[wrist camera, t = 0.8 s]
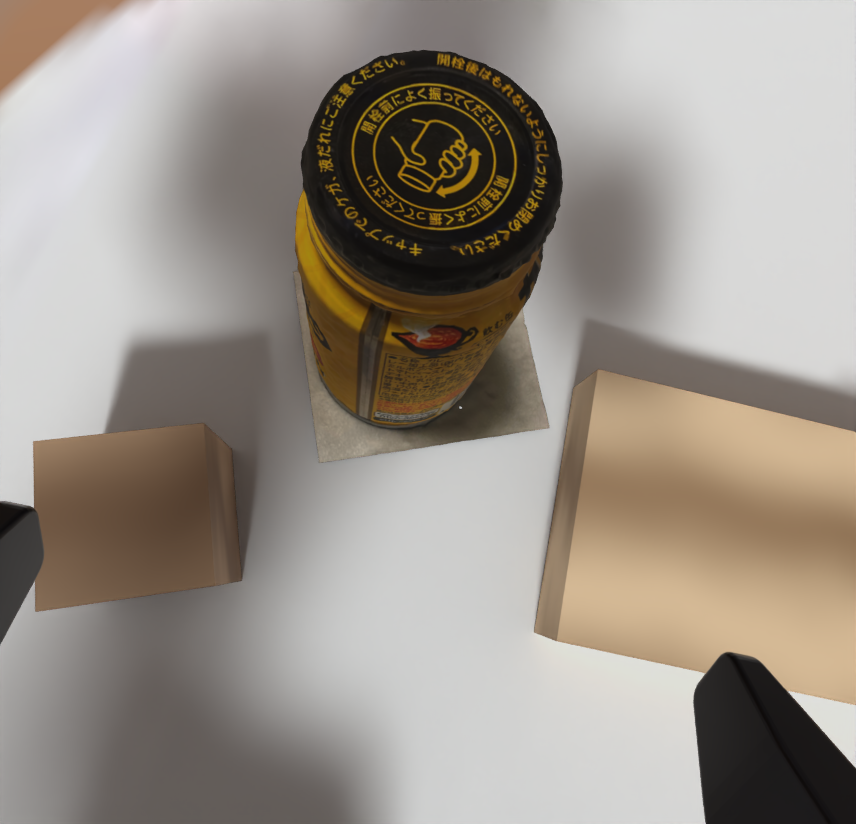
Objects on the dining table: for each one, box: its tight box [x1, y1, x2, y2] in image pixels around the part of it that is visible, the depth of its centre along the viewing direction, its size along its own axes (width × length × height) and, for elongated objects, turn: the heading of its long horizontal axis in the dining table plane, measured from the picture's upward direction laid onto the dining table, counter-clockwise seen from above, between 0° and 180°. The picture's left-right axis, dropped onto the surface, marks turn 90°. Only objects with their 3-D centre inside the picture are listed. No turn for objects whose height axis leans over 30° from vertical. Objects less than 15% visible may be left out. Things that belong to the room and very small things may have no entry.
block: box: [33, 423, 242, 612], centre depth 20 cm, size 4×4×4 cm
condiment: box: [293, 50, 563, 463], centre depth 18 cm, size 7×8×12 cm
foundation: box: [534, 369, 856, 705], centre depth 21 cm, size 9×14×6 cm, turn 78°
